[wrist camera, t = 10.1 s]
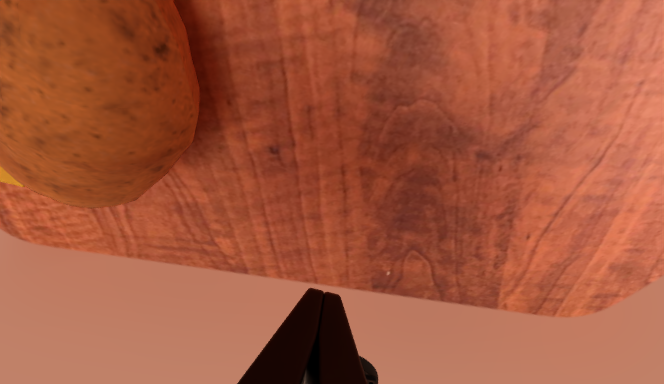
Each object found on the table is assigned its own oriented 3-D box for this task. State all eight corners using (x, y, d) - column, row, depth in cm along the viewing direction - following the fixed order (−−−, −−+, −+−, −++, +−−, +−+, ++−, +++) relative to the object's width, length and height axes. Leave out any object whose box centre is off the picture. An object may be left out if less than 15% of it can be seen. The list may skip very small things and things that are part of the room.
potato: (262, 15, 15) (178, 40, 9) (191, 190, 21) (109, 280, 14) (56, -118, 13) (-234, -208, 7) (40, 112, 19) (-127, 176, 13)
